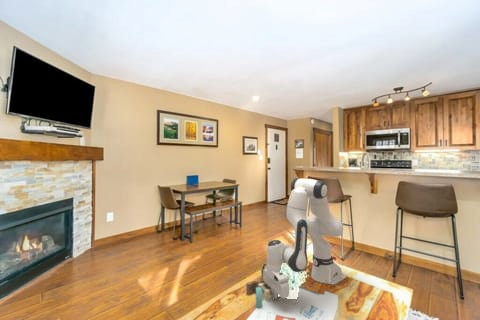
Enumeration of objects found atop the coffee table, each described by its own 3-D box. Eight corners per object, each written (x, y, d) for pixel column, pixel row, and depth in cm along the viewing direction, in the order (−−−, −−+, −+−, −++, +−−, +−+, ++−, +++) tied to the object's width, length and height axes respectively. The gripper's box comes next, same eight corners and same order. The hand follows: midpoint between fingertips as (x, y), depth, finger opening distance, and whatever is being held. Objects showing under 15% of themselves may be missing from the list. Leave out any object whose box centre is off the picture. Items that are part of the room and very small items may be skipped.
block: (271, 288, 132) (271, 280, 132) (279, 297, 124) (279, 288, 124) (257, 292, 128) (257, 283, 128) (266, 301, 120) (266, 291, 120)
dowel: (260, 303, 118) (260, 286, 118) (263, 307, 115) (263, 289, 115) (254, 305, 117) (254, 287, 117) (257, 308, 114) (257, 291, 114)
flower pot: (276, 278, 144) (276, 264, 144) (275, 285, 135) (275, 271, 135) (263, 277, 146) (263, 263, 146) (261, 283, 138) (260, 269, 138)
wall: (278, 284, 136) (278, 275, 137) (280, 286, 135) (280, 276, 135) (246, 293, 127) (246, 283, 127) (247, 295, 125) (247, 284, 126)
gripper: (260, 264, 129) (260, 288, 128) (280, 281, 110) (281, 309, 110) (269, 262, 131) (269, 286, 131) (291, 278, 113) (291, 306, 113)
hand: (275, 297), depth 120 cm, fingers closed
